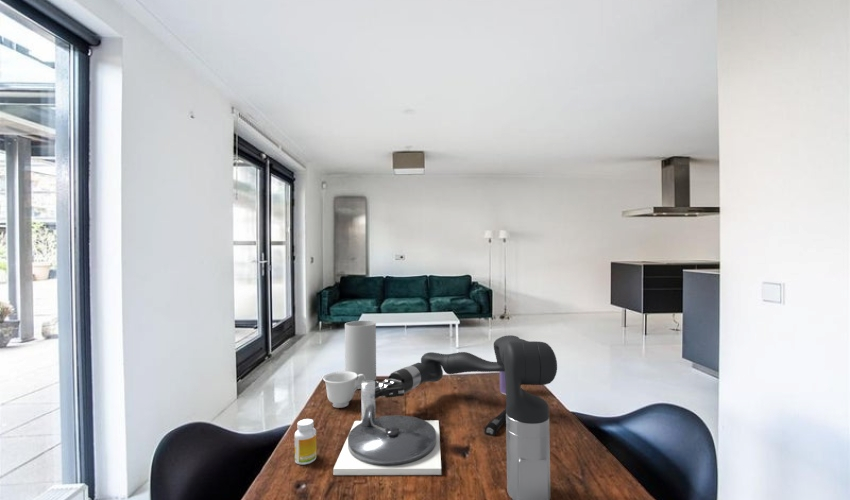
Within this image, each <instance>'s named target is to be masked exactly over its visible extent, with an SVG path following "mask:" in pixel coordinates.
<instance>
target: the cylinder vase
mask: <svg viewBox="0 0 850 500" xmlns="http://www.w3.org/2000/svg"><path fill="white" fill-rule="evenodd" d="M376 324H377V323H376V322H375V321H371V320H354V321H348V322H346V323H344V371H349V372H354V373H356V374H357V375H359V374H363V375H364V376H365V379H366V380H373V381H374V380H377V327H376V326H377V325H376ZM362 381H363V377H360V378H359V380H358V381H355V387H356V386H358V385H360V384H361V382H362ZM357 390H361V387H360V388H358V389H357Z"/></svg>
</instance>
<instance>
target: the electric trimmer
mask: <svg viewBox="0 0 850 500" xmlns="http://www.w3.org/2000/svg"><path fill="white" fill-rule="evenodd" d="M503 425H505V426H506V408H504V410H502V412H501V413H499V414H498V415H496V416H495V417H494V418H493V419H492V420H491V421H489V422H488V423H487V424H486V426H485V427H484V431H483V432H484V433H483V434H484V435H487V436H490V437H496V436H497V433H498V430H500V428H501V427H502V426H503Z"/></svg>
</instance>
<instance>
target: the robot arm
mask: <svg viewBox="0 0 850 500" xmlns="http://www.w3.org/2000/svg"><path fill="white" fill-rule="evenodd" d="M493 350H494V355H495V359H496V361H490V360H486V359H483V358H482V357H480V356H478V355H475V354H472V353H470V352H468V351H460V352H459V351H458V352H454V353H447V354H446V353H439V352H427V353H424V354H423V355H422V356H421V358H420V362H416V363H413V364H411V365H408V366H405V367H402V368H400V369H398V370H397V369H396V370H395V371H393V372H391V373H390V374H389V375H388V378H386V379H383V380H382V381H379V380H378V379H376V380H374V381H375V400H377V399H378V398H384V397H385V398H386V399H387V398H397V397H403V396H405V394H406V393H408V392H409V391H411V390H413V389H415V388H417V386H419V385H421V384H424V383H431V382H432V383H433V382H438V381H440V380H441V379H442V378H443V375H444V373H446V374H447V375H455V374H463V373H471V372H472V373H474V372H475V373H476V372H478V373H479V372H481V373H494V372H495V373H498V372H499V373H500V372H505V381H506V395H505V409H506V424H505V426H506V427H505V428H506V429H505V433H506V434H505V437H506V438H505V440H506V446H505V447H506V491H507V494H508V496H509V497H510V498H511V499H512V500H550V499H551V460H550V459H551V457H550V455H551V450H550V448H551V447H550V444H551V443H550V440H551V439H550V405H549V404H548V402H547V401H546V400H545V399H543V398H542V397H539V396H537V395H535V394H532V393H530V392H528V391H526V390H524V389H523V388H522V386H523V385H524V386H525V385H526V386H544V385H545V386H547V385H548V384H551V383H552V382H553V381H554V379H555V378H556V376H557V372H558V371H557V370H558V362H557V357H556V354H555V352H554V350H553V347H551V346H550V345H549V343H547V342H544V341H535V340H534V341H530V340H529V341H528V340H525V339H523V338H520V337H518V336H517V335H513V334H512V335H510V334H509V335H504V336H500V337H499V338H496V339H495V341H493ZM443 371H444V372H443Z"/></svg>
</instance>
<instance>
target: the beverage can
mask: <svg viewBox="0 0 850 500" xmlns="http://www.w3.org/2000/svg"><path fill="white" fill-rule="evenodd" d="M499 392H500V394H503V395H505V396H506V381H505V372H499Z"/></svg>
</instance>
